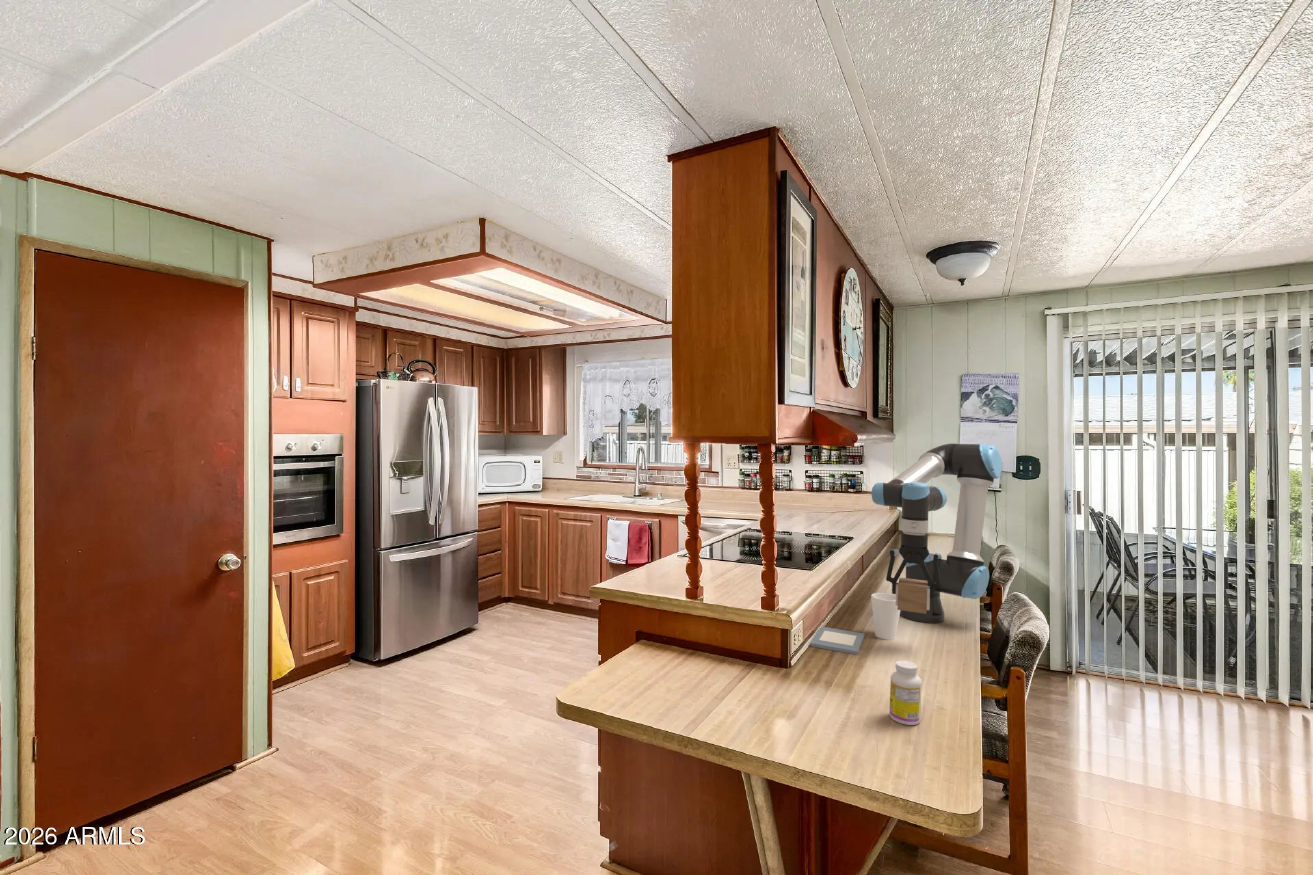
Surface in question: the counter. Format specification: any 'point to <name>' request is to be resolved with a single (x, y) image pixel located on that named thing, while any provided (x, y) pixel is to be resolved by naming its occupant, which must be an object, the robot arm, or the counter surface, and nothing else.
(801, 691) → the counter surface
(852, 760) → the counter surface
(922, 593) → the walnut cube
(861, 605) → the counter surface
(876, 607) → the foam cup
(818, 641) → the blue flat board
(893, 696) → the supplement bottle
